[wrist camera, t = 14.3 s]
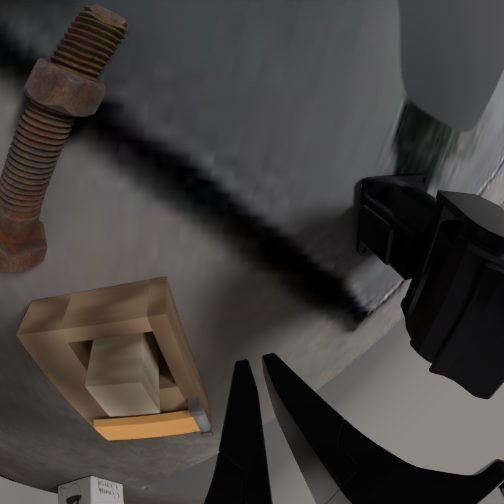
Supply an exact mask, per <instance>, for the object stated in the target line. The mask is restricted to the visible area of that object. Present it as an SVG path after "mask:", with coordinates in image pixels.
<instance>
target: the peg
mask: <svg viewBox="0 0 504 504" xmlns="http://www.w3.org/2000/svg"><path fill="white" fill-rule="evenodd" d="M85 387H86V389H87V390H88V391H89V392H90V394H91V395H92V396H93V397H94V399H95V400H96V401H97V402H98V404H99V405H100V406H101V407H102V408H103V409H104V411H105V412H106V413H107V414H108V415H109V416H110V417H112V416H129V415H142V414H153V413H160V401H159V367H158V342H157V340H156V338H155V335H154V333H153V331H150V332H144V333H137V334H130V335H124V336H117V337H109V338H102V339H94V340H93V345H92V349H91V355H90V360H89V365H88V371H87V377H86V383H85Z"/></svg>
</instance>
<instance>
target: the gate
mask: <svg viewBox="0 0 504 504" xmlns="http://www.w3.org/2000/svg"><path fill="white" fill-rule="evenodd" d="M202 412H203V415H201V416H195V417H191V416H190V414H189V410H185V411H179V412H172V413H165V414H157V415H149V416H139V417H129V418H116V419H100V420H94V425H93V427H94V428H95V429H96V430H97V431H98V432H99V433H100V434H101V435H102V436H103V437H105V438H106V439H107V440H124V439H139V438H150V437H160V436H168V435H176V434H183V433H190V432H197V431H202V432H207V431H209V430H210V428H211V424H210V422H209V420H208V418H207V416H206V414H205V411H204V409H203V408H202Z"/></svg>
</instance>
